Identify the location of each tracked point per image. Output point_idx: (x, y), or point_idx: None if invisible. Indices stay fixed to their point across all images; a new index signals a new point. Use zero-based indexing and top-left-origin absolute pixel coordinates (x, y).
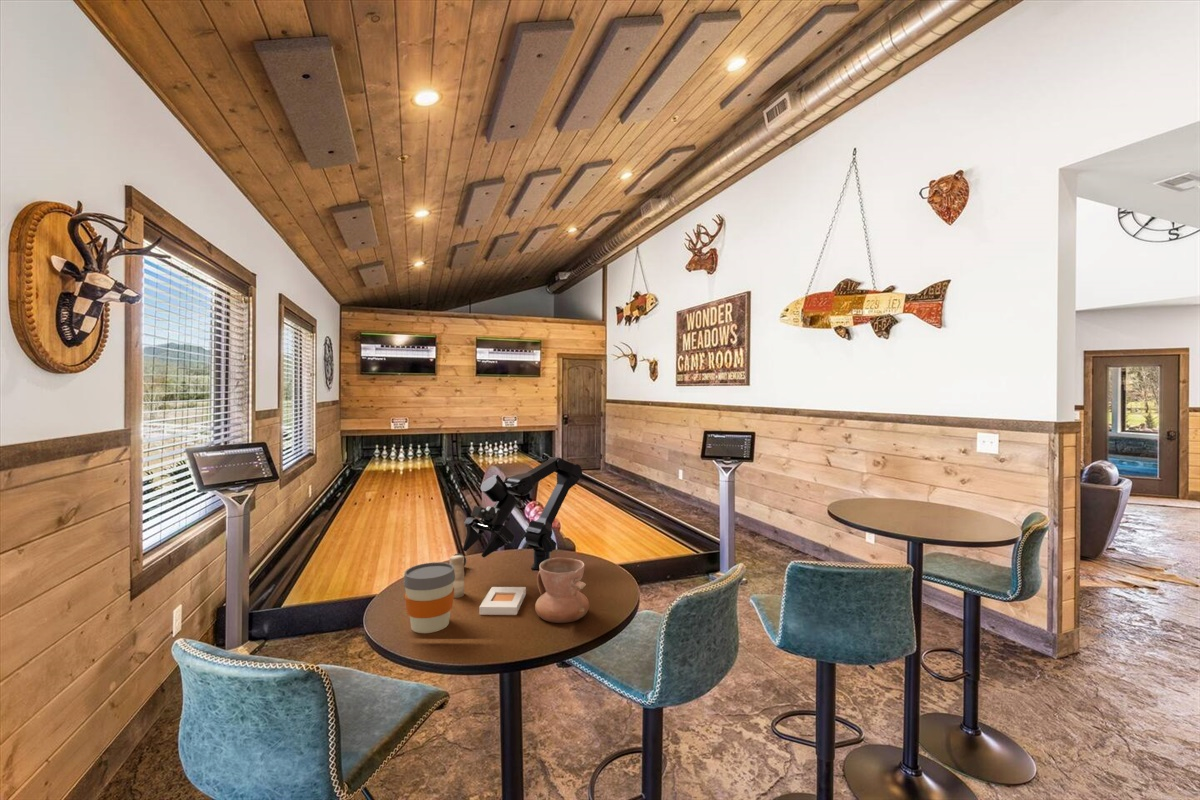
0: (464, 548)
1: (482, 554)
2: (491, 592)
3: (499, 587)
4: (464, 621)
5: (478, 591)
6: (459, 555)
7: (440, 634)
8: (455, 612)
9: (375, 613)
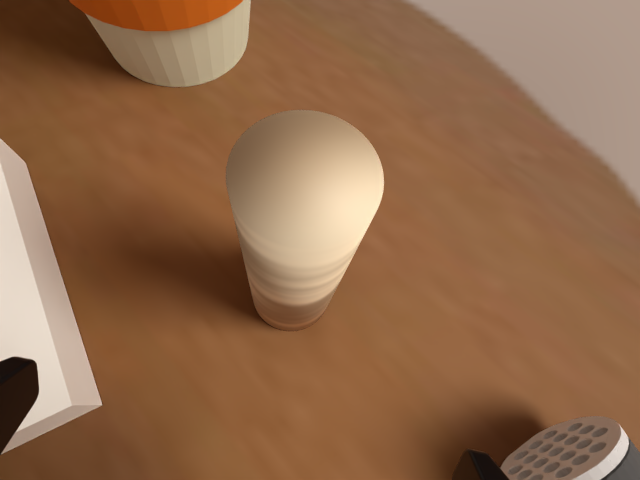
0: (473, 471)
1: (6, 364)
2: (20, 319)
3: None
4: (80, 117)
5: (245, 438)
6: (331, 240)
7: None
8: (180, 166)
9: (472, 49)
